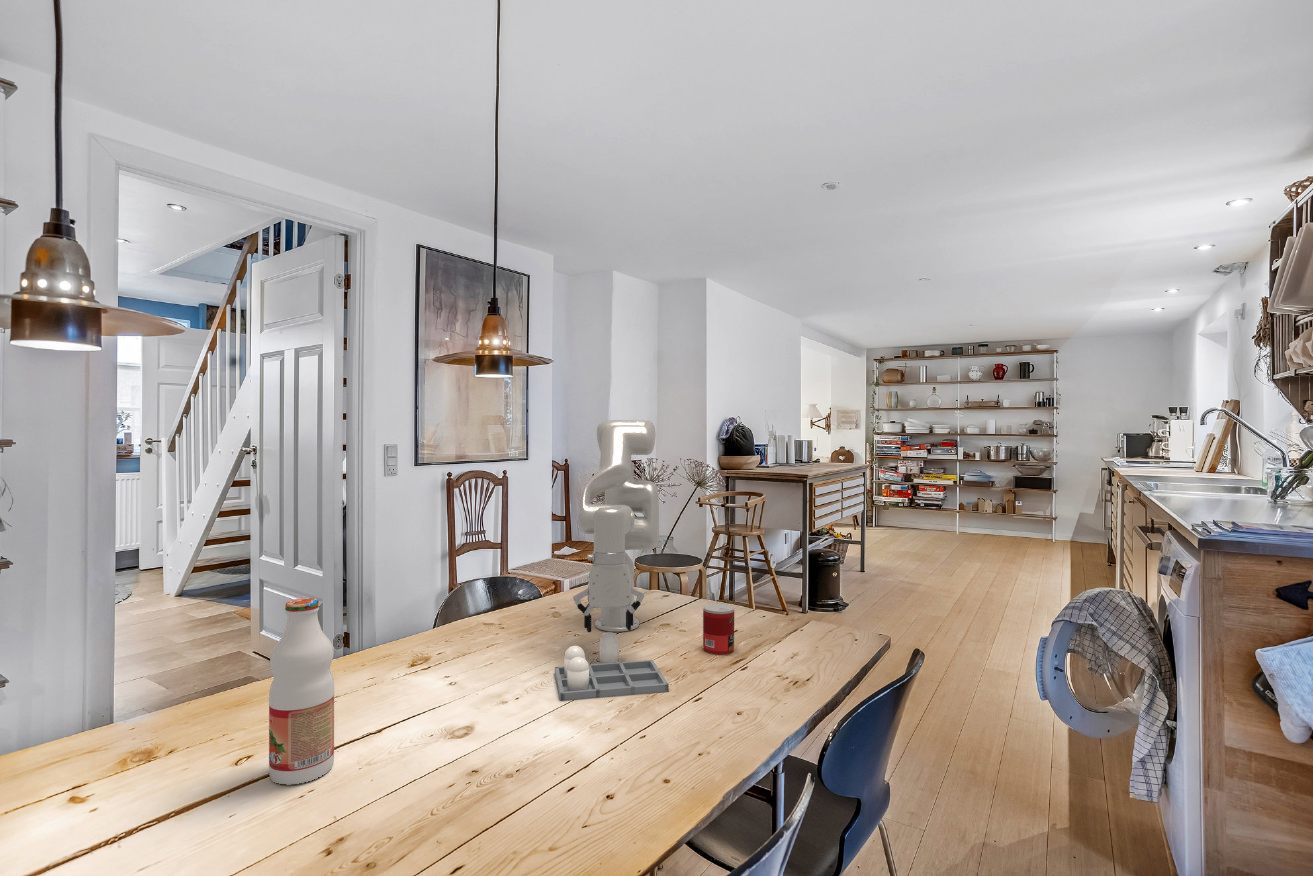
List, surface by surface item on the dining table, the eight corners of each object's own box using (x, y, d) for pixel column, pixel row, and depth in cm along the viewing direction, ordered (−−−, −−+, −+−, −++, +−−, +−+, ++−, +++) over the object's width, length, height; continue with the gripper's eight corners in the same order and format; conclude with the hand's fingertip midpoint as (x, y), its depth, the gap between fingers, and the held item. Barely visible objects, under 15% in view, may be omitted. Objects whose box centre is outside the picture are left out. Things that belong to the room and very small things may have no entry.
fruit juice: (320, 785, 103) (320, 608, 103) (257, 788, 102) (257, 609, 102) (343, 756, 112) (343, 593, 112) (285, 758, 111) (285, 594, 111)
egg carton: (554, 675, 150) (554, 667, 150) (652, 668, 155) (652, 659, 155) (560, 703, 135) (560, 693, 135) (668, 693, 140) (668, 684, 140)
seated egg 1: (563, 675, 148) (563, 643, 148) (583, 674, 150) (583, 642, 149) (565, 683, 144) (565, 650, 144) (586, 681, 145) (586, 648, 145)
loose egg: (598, 659, 161) (598, 630, 161) (616, 658, 162) (616, 629, 162) (600, 666, 156) (600, 635, 156) (619, 664, 157) (620, 634, 157)
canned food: (735, 655, 164) (735, 611, 164) (703, 654, 165) (704, 611, 165) (732, 645, 172) (732, 603, 172) (702, 644, 172) (702, 603, 172)
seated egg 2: (566, 688, 141) (566, 654, 141) (587, 686, 142) (587, 653, 142) (568, 696, 137) (568, 661, 137) (590, 694, 138) (590, 660, 138)
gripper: (575, 562, 153) (574, 636, 152) (647, 560, 157) (646, 632, 156) (571, 557, 160) (571, 628, 160) (641, 555, 164) (640, 624, 164)
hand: (608, 629), depth 158 cm, fingers open, 9 cm apart
